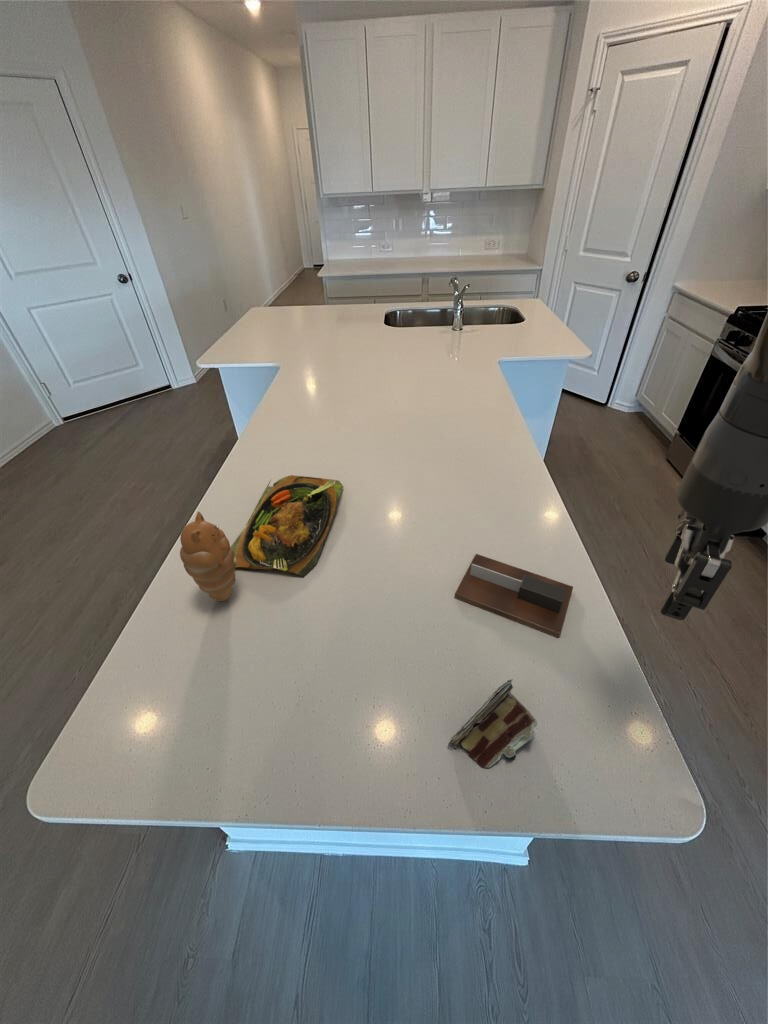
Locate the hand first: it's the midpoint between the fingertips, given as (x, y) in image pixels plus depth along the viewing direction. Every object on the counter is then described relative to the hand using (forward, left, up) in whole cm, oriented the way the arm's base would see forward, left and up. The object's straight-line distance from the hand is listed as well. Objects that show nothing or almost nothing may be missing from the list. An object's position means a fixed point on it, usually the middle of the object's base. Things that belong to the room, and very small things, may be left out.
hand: (672, 587), depth 49 cm
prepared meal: (+64, -8, -23) cm, 69 cm away
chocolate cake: (+13, +14, -23) cm, 30 cm away
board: (+17, -11, -23) cm, 31 cm away
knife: (+17, -11, -22) cm, 30 cm away
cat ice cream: (+63, +13, -23) cm, 69 cm away
